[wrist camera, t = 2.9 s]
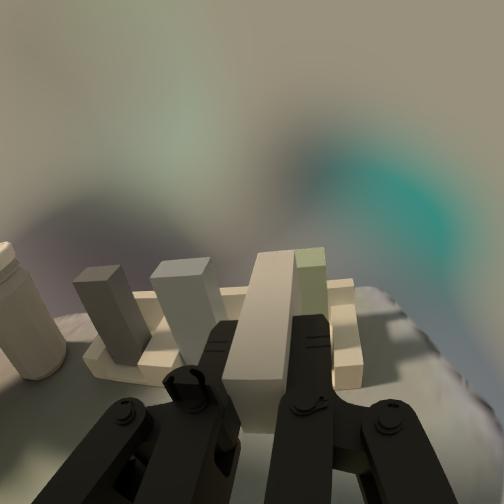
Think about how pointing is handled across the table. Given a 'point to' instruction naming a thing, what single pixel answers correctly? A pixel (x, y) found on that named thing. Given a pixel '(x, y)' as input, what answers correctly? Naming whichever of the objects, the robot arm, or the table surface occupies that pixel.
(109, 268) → the key charcoal
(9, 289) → the jar
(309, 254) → the key sage
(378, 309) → the table surface
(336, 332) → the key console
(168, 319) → the key slate
